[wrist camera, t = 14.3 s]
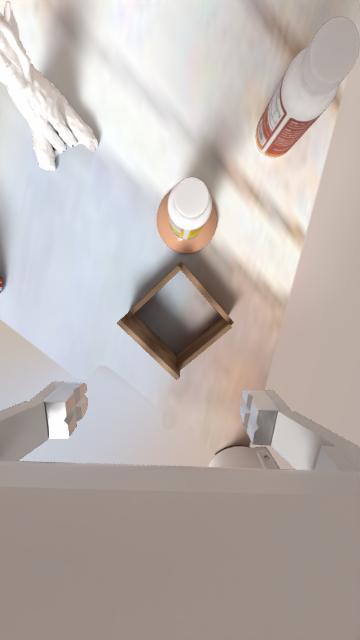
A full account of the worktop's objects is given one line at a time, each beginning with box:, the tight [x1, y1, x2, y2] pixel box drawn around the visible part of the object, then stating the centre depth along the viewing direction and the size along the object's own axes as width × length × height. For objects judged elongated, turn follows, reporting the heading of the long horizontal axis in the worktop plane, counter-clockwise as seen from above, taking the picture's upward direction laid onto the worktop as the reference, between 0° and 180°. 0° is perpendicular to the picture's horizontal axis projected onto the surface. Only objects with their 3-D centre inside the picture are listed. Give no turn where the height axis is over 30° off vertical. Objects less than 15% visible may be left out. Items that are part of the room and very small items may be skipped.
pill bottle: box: [255, 17, 360, 158], centre depth 22 cm, size 6×6×11 cm
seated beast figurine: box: [0, 1, 98, 171], centre depth 21 cm, size 10×9×12 cm
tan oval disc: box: [157, 192, 217, 254], centre depth 30 cm, size 10×10×1 cm
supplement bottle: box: [168, 177, 212, 240], centre depth 25 cm, size 6×6×10 cm
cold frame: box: [117, 262, 234, 380], centre depth 31 cm, size 14×14×7 cm
